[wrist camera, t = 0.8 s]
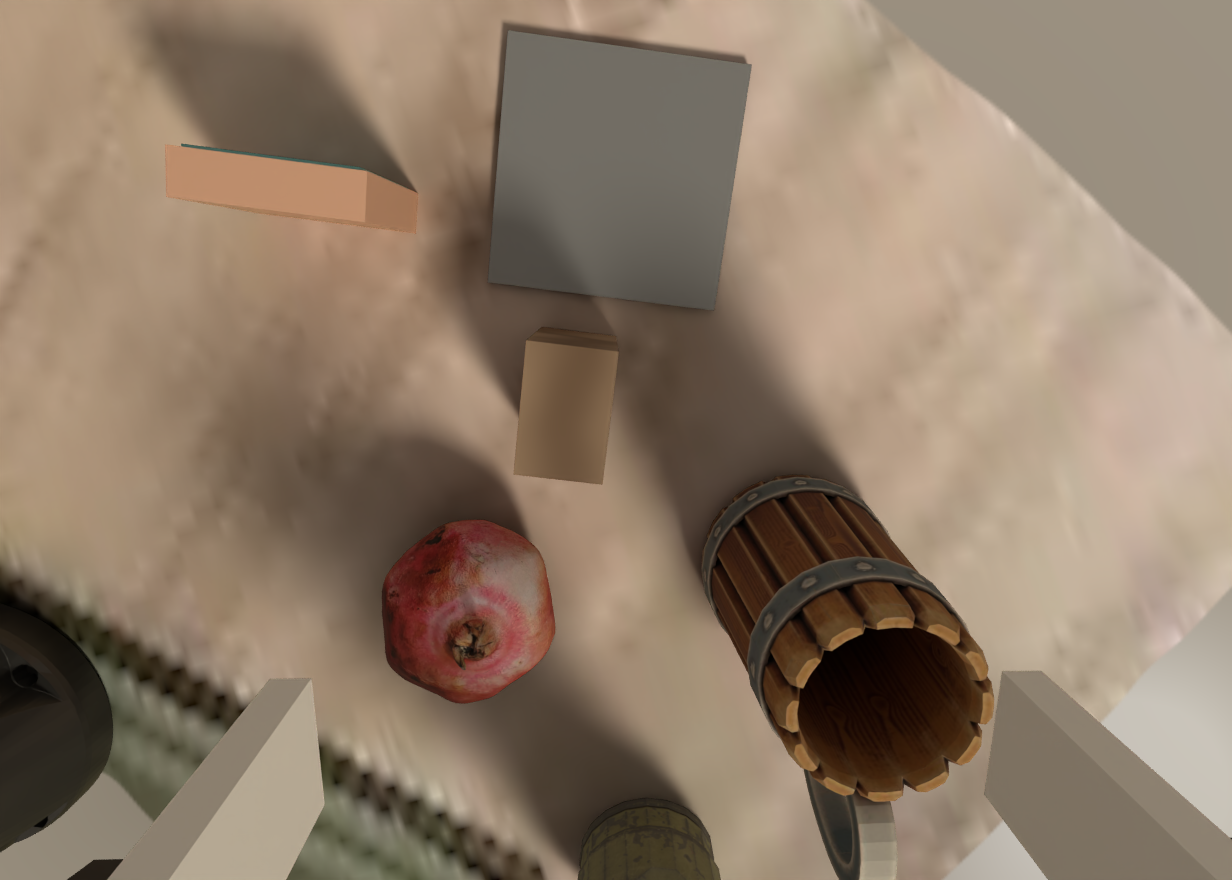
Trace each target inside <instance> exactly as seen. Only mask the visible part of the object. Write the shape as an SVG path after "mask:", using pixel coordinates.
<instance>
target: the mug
mask: <svg viewBox="0 0 1232 880" xmlns="http://www.w3.org/2000/svg"><path fill="white" fill-rule="evenodd" d="M707 537H708V540H707V543H706V545H705V547H704V549H703V555H702V570H701V571H702V577H703V584H704V590H705V594H706V596H707V598H708V600H709V603H710V605H711V607H712V609H713V611H714V613H715V615H716V617H717V619H718V621H719V623H720V625H721V627H722V628H723V629H724V630H725V631H726V633H727V634H728V635H729V636H730V638H731V640H732V642H733V644H734V646H735V648H736V650H737V652H738V654H739V656H740V658H741V660H742V662H743V664H744V666H745V668H746V670H747V672H748V674H749V679H750V685H751V687H752V689H753V691H754V693H755V695H756V698H757V700H758V702H759V704H760V706H761V708H762V710H763V712H764V714H765V716H766V718H767V720H768V722H769V724H770V726H771V728H772V730H773V731H774V733H775V734H776V735H777V736H778V737H779V738H780V739H781V740H782V742H783V744H784V746H785V748H786V750H787V752H788V754H789V755H790V756H791V757H792V758H793V760H794V761H795V762H796V763H797V764H798V765H799V766H800V767H801V768H803V769H804V773H805V778H806V783H807V787H808V791H809V795H810V799H811V803H812V807H813V810H814V814H815V817H816V820H817V824H818V827H819V830H820V833H821V836H822V839H823V842H824V845H825V848H826V851H827V854H828V857H829V859H830V861H831V864H832V866H833V868H834V870H835V873H836V875H837V876H838V878H839V880H895V878H896V871H897V839H896V830H895V822H894V817H893V812H892V807H891V803H890V801H895V800H897V799H898V798H900V797H901V796H903V788H904V784H905V785H907V786H908V787H910V788H912V789H914V790H915V791H917V792H928V791H930V790H932V789H934V788H936V787H938V786H940V785H942V784H943V783H945V781H946V779H947V778H948V776H949V765H948V761H950V762H953V763H956V764H958V765H962V764H965V763H968V762H970V760H971V759H972V758H973V757H974V755H975V754H976V753H977V751H978V750H979V748H980V747H981V740H982V730H981V728H980V727H979V725H978V723H979V724H987V723H988V721H989V720H990V719H991V718H992V716H993V709H994V695H993V689H992V683H991V681H990V680H989V678H988V677H987V673H988V665H987V662H986V659H985V657H984V654H983V651H982V649H981V648H980V647H979V646H978V644H977V643H976V642H975V641H974V639H973V638H972V637H971V636H970V634H969V631H968V628H967V626H966V624H965V622H964V621H963V620H962V619H961V617H960V616H959V615H958V613H957V612H956V611H955V610H954V608H953V607H952V606H951V604H950V603H949V602H948V601H947V600H946V598H945V597H944V596H943V595H942V594H941V593H940V591H939V590H938V589H937V588H936V587H935V585H934V584H933V583H932V582H930V581H929V580H927V579H926V578H925V577H923V576H922V575H920V574H919V573H918V571H917V570H916V569H915V568H914V567H913V565H912V564H911V563H910V562H909V560H908V559H907V558H906V557H905V556H904V554H903V553H902V552H901V551H900V550H899V548H898V547H897V546H896V545H895V543H894V542H893V541H892V540H891V538H890V536H889V533H888V531H887V530H886V528H885V527H884V526H883V525H882V523H881V522H880V521H879V519H878V518H877V517H876V516H875V514H874V513H873V512H872V511H871V509H870V508H869V507H868V506H867V505H866V504H865V502H864V501H863V500H861V499H860V498H859V497H857V496H856V495H854V494H853V493H852V492H850V491H849V490H847V489H846V488H845V487H842V486H839V485H837V484H835V483H833V482H830V481H828V480H825V479H816V478H811V477H810V476H808V475H787V476H779V477H775V478H774V479H773V480H772V481H770V482H768V483H766V482H763V481H761V482H759V483H757V484H755V485H753V486H751V487H749V488H747V489H745V490H744V491H742V492H741V493H740V494H738V495H737V496H735V497H734V498H733V502H732V504H731V505H730V506H729V507H726V508H723V509H722V510H721V512H720V513H719V514H718V516H717V517H716V519H715V520H714V521H713V523H712V525H711V528H710V530H709V532H708V534H707ZM845 796H846V797H845ZM846 799H847V800H846Z"/></svg>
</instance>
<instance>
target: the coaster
mask: <svg viewBox="0 0 1232 880" xmlns="http://www.w3.org/2000/svg"><path fill="white" fill-rule="evenodd" d="M751 66H752V65H751V64H744V63H737V62H730V61H723V60H716V59H709V58H701V57H694V56H687V55H680V54H673V53H666V52H659V51H652V50H645V49H638V48H631V47H623V46H616V45H609V44H602V43H595V42H588V41H581V40H574V39H567V38H560V37H553V36H545V35H538V34H531V33H524V32H517V31H510V30H508V35H507V48H506V60H505V73H504V85H503V98H502V110H501V123H500V135H499V148H498V160H497V173H496V185H495V198H494V210H493V223H492V235H491V248H490V260H489V273H488V282H489V283H497V284H505V285H513V286H521V287H529V288H537V289H545V290H553V291H561V292H569V293H577V294H585V295H593V296H601V297H609V298H617V299H625V300H633V301H641V302H649V303H657V304H665V305H673V306H681V307H689V308H697V309H705V310H713V311H714V309H715V302H716V295H717V289H718V282H719V276H720V269H721V263H722V256H723V250H724V243H725V236H726V230H727V223H728V217H729V210H730V204H731V197H732V191H733V184H734V178H735V171H736V164H737V158H738V151H739V145H740V138H741V132H742V125H743V119H744V112H745V106H746V99H747V92H748V86H749V79H750V73H751Z"/></svg>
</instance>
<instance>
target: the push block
mask: <svg viewBox="0 0 1232 880" xmlns="http://www.w3.org/2000/svg"><path fill="white" fill-rule="evenodd" d="M618 355H619V350H618V345H617V340H616V336H611V335H603V334H595V333H587V332H579V331H571V330H563V329H555V328H547V327H541V328H540V329H539V330H538V331H537V332H535V333H534V334H533V335H532V336H531V337H530V338H528V339H527V340H526V347H525V357H524V368H523V379H522V389H521V400H520V410H519V421H518V432H517V442H516V453H515V464H514V475H523V476H532V477H540V478H549V479H558V480H567V481H576V482H584V483H593V484H603V475H604V467H605V459H606V451H607V443H608V435H609V427H610V419H611V411H612V403H613V395H614V387H615V379H616V371H617V363H618Z"/></svg>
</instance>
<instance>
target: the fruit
mask: <svg viewBox="0 0 1232 880" xmlns="http://www.w3.org/2000/svg"><path fill="white" fill-rule="evenodd" d="M382 617H383V627H384V638H385V653H386V658H387V662H388V664H389V665H390V667H391V668H392V669H393V670H394V671H395V672H396V673H397V674H398V675H400V676H401V677H402V678H404V679H405V680H407V681H409V682H411V683H413V684H415V685H417V686H420V687H422V688H424V689H426V690H429V691H431V692H433V693H435V694H438V695H439V696H441V697H443V698H445V699H447V700H449V701H451V702H455V703H461V704H462V703H471V702H475V701H479V700H484V699H488V698H490V697H492V696H494V695H496V694H497V693H499V692H500V691H501V690H502V689H504V688H505V687H506V686H508V685H509V684H511V683H512V682H514V681H515V680H517V679H519V678H520V677H521V676H523V675H524V674H526V673H527V672H528V671H530V670H531V669H532V668H533V667H534V666H535V665H536V664H537V663H538V662H539V661H540V660H541V659H542V658H543V657H544V655H545V654H546V652H547V651H548V649H549V647H550V645H551V642H552V639H553V637H554V634H555V620H554V612H553V606H552V599H551V593H550V588H549V582H548V578H547V574H546V568H545V564H544V561H543V558H542V556H541V554H540V552H539V551H538V549H537V548H536V547H535V546H534V545H533V544H532V543H530V542H529V541H528V540H526V539H525V538H524V537H522V536H521V535H519V534H517V533H515V532H513V531H511V530H509V529H506V528H504V527H501V526H499V525H497V524H495V523H492V522H489V521H487V520H461V521H456V522H451V523H447V524H444V525H442V526H440V527H438V528H437V529H435V530H434V531H432V532H431V533H430V534H428V535H427V536H425V537H424V538H423V539H421V540H420V541H419V542H418V543H416V544H415V545H414V546H413V547H411V548H410V549H409V550H408V551H406V553H405V554H404V555H403V556H402V557H401V558H400V559H399V560H398V561H397V563H396V564H395V565H394V566H393V567H392V569H391V570H390V571H389V573H388V574H387V576H386V578H385V580H384V584H383V589H382Z"/></svg>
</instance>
